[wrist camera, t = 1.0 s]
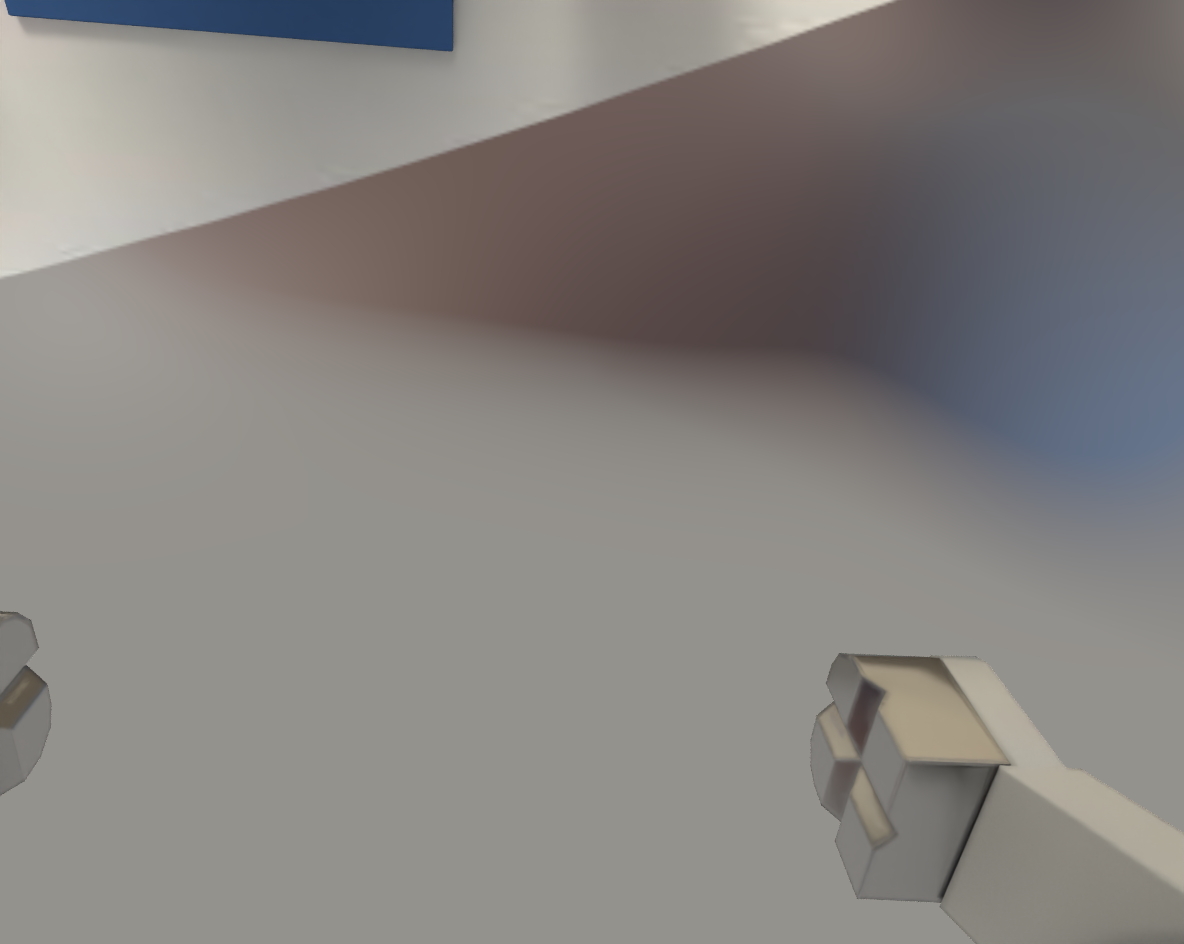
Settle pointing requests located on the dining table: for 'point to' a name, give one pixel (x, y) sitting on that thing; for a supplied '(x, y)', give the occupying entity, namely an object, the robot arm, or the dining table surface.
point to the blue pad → (270, 18)
